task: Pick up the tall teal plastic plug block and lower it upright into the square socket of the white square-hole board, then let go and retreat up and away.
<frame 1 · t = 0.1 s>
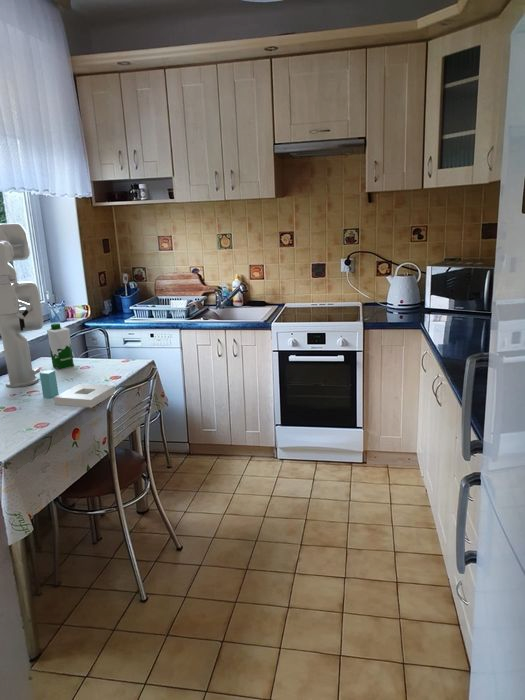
hand: (6, 331, 177), 31 cm above the table, tool pointing down, fingers open, 9 cm apart
plug: (51, 396, 207), on the table
white square-hole board: (86, 398, 203), on the table
milk carton: (63, 367, 248), on the table
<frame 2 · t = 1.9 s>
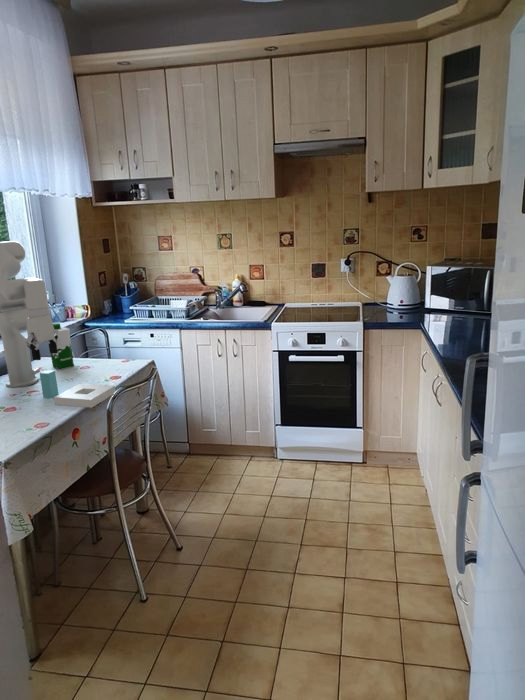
hand: (45, 356, 203), 16 cm above the table, tool pointing down, fingers open, 9 cm apart
nothing on the table moved.
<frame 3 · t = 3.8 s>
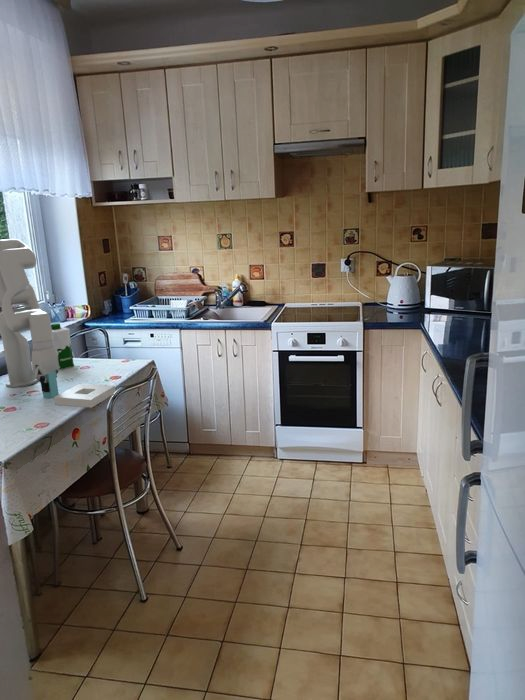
hand: (49, 389, 207), 3 cm above the table, tool pointing down, fingers closed on plug, 4 cm apart
plug: (51, 396, 207), on the table, touching gripper
everything else where it was.
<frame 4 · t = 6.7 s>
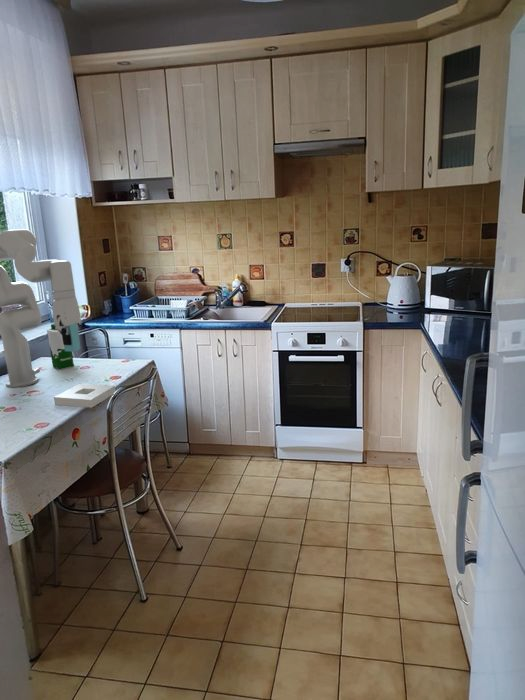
hand: (71, 342, 198), 22 cm above the table, tool pointing down, fingers closed on plug, 4 cm apart
plug: (72, 350, 198), point 19 cm above the table, touching gripper
everything else where it was.
when the fingers open (4 cm above the table, at t = 9.6 s): plug drops 2 cm, resting in white square-hole board.
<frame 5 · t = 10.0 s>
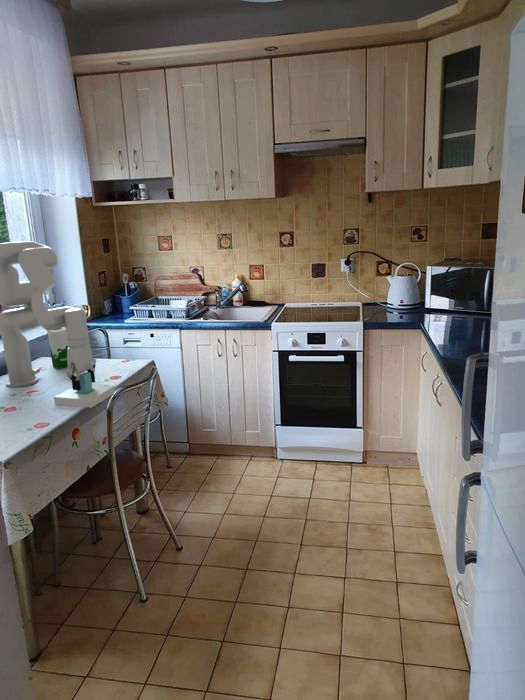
hand: (84, 385, 201), 5 cm above the table, tool pointing down, fingers open, 8 cm apart
plug: (86, 398, 203), resting in white square-hole board
everything else where it was.
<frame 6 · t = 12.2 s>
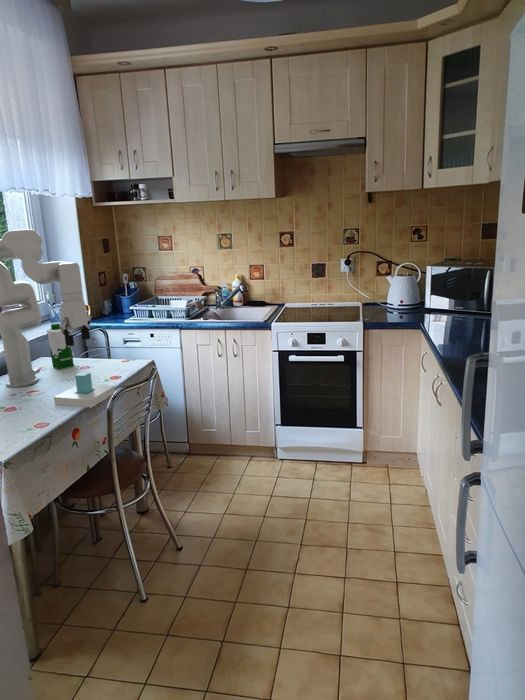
hand: (78, 342, 197), 22 cm above the table, tool pointing down, fingers open, 9 cm apart
nothing on the table moved.
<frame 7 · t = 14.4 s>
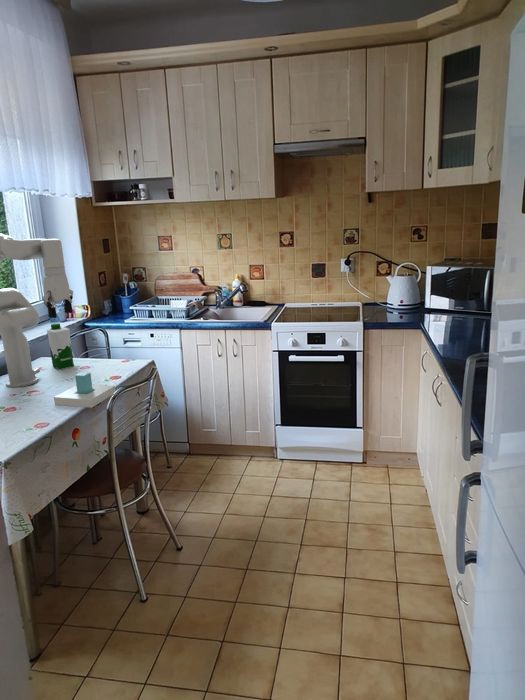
hand: (61, 315, 208), 30 cm above the table, tool pointing down, fingers open, 9 cm apart
nothing on the table moved.
at the end: plug 0.0 cm off-centre on the white square-hole board, point 0.0 cm above the white square-hole board's base; plug tilted 0°; the gripper is holding nothing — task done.
